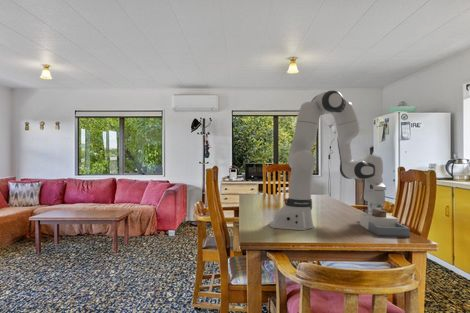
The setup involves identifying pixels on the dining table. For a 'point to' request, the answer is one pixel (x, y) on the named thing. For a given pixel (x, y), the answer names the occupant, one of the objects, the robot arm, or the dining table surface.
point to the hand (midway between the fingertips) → (373, 211)
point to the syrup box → (379, 207)
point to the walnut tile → (378, 213)
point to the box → (389, 230)
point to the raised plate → (377, 220)
